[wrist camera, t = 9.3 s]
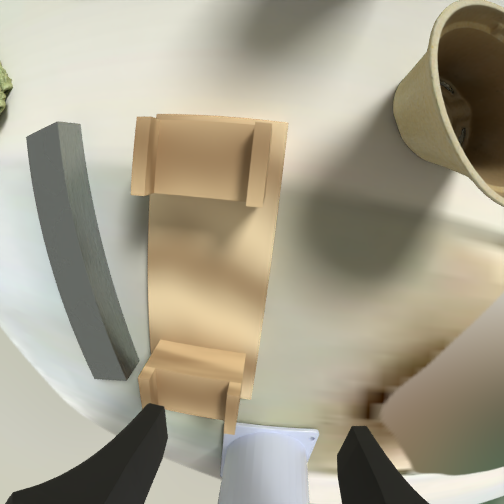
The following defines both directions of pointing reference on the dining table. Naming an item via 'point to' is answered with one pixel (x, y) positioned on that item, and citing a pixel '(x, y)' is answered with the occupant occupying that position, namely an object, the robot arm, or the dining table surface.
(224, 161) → the tan piece
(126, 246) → the dining table surface
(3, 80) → the washcloth
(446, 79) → the flower pot
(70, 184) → the rail
